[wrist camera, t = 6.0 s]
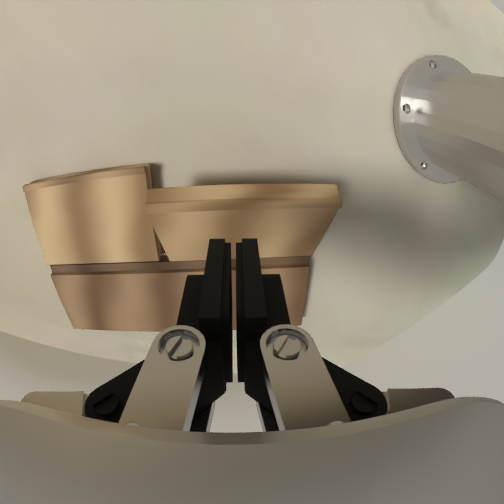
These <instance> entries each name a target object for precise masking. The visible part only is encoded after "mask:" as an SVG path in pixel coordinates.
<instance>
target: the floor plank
mask: <svg viewBox="0 0 504 504" xmlns="http://www.w3.org/2000/svg"><path fill="white" fill-rule="evenodd" d="M205 264H206V260H195V261H170V260H169V258H168V256H167V255H165V256H160V259H159V261H145V262H117V263H88V264H57V265H50V267H51V269H52V272H53V273H52V274H51V278H52V280H53V283H54V285H55V288H56V290H57V293H58V295H59V297H60V300H61V302H62V304H63V306H64V309H65V311H66V313H67V315H68V317H69V319H70V322H71V324H72V326H73V328H76V329H92V330H113V331H163V330H164V329H166V328H169V327H172V326H176V324H177V319H178V314H179V310H180V305H181V300H182V296H183V291H184V287H185V282H186V278H187V275H204V271H205ZM260 264H261V272H262V274H280V276H281V280H282V285H283V290H284V294H285V299H286V304H287V309H288V313H289V318H290V323H291V325H294V326H298V325H301V323H302V317H303V311H304V304H305V298H306V291H307V284H308V277H309V270H310V266H309V256H292V257H269V258H260ZM231 267H232V330H236V259H231Z"/></svg>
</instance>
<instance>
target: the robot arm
mask: <svg viewBox="0 0 504 504" xmlns="http://www.w3.org/2000/svg"><path fill="white" fill-rule="evenodd" d="M402 107H403V108H402ZM393 114H394V126H395V132H396V137H397V140H398V143H399V146H400V148H401V150H402V152H403V154H404V156H405V158H406V160H407V161H408V162H409V163H410V165H411V166H412V167H413V168H414V169H415V170H416V171H417V172H418V173H419V174H421V175H422V176H424V177H426V178H428V179H429V180H432V181H434V182H437V183H444V184H447V183H454V182H456V181H459V180H461V179H464V180H466V181H468V182H469V183H471V184H473V185H475V186H477V187H478V188H480V189H482V190H484V191H485V192H487V193H489V194H490V195H492V196H494V197H495V198H497V199H499V200H500V201H502V202H503V203H504V77H499V76H492V75H484V74H475V73H471V72H470V71H469V70H468V69H467V68H466V67H465V66H464V65H463V64H461V63H460V62H458V61H456V60H455V59H453V58H450V57H447V56H439V55H434V56H425V57H423V58H420V59H418V60H416V61H415V62H414V63H412V64H411V65H410V66H409V67H408V68H407V70H406V71H405V72H404V73H403V75H402V77H401V79H400V81H399V83H398V86H397V90H396V93H395V98H394V107H393ZM236 331H237V368H238V382H244V383H245V392H246V394H248V395H249V396H250V397H251V398H253V399H254V400H256V404H257V405H256V406H257V410H258V414H259V418H260V422H261V425H262V429H263V432H249V433H248V432H247V433H213V432H209V431H210V427H211V422H212V417H213V412H214V408H215V400H217V399H218V398H219V397H220V396H222V395H223V394H224V393H225V391H226V382H232V381H233V377H232V375H233V370H232V267H231V243H225V239H209V245H208V251H207V258H206V264H205V271H204V275H187V278H186V282H185V287H184V291H183V296H182V300H181V305H180V310H179V314H178V319H177V324H176V326H172V327H169V328H166V329H164V330H163V331H161V332H160V333H159V334H158V335H157V336H156V337H155V339H154V340H153V343H152V345H151V347H150V349H149V352H148V354H147V356H146V358H145V360H143V361H141V362H140V363H138V364H136V365H135V366H133V367H132V368H130V369H128V370H127V371H125V372H123V373H122V374H120V375H118V376H117V377H115V378H113V379H112V380H110V381H108V382H107V383H105V384H103V385H102V386H100V387H98V388H96V389H95V390H94V391H93V392H91V393H90V394H85V393H84V392H83V391H76V392H31V393H29V394H27V395H25V396H24V398H23V399H22V400H21V402H20V401H11V400H0V504H504V404H503V403H502V402H500V401H497V400H494V399H490V398H485V397H484V398H483V397H459V398H455V397H454V396H453V395H452V393H451V392H449V391H448V390H446V389H443V388H419V389H388V390H387V391H386V392H381V391H380V390H379V389H377V388H376V387H375V386H373V385H371V384H369V383H367V382H365V381H363V380H362V379H360V378H358V377H356V376H354V375H353V374H351V373H349V372H347V371H345V370H344V369H342V368H340V367H338V366H337V365H335V364H333V363H331V362H329V361H328V360H326V359H324V358H323V357H321V355H320V353H319V351H318V349H317V346H316V344H315V342H314V340H313V338H312V337H311V335H310V334H309V333H308V332H307V331H305V330H304V329H302V328H300V327H298V326H294V325H291V323H290V318H289V313H288V309H287V304H286V299H285V294H284V290H283V285H282V280H281V276H280V274H262V272H261V264H260V256H259V249H258V241H257V238H242V242H236Z"/></svg>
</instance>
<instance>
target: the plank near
mask: <svg viewBox="0 0 504 504" xmlns="http://www.w3.org/2000/svg"><path fill="white" fill-rule="evenodd" d="M342 204H343V203H342V200H341V199H340V196H339V193H338V189H337V185H336V184H229V185H204V186H186V187H170V188H157V189H148V192H147V199H146V204H145V207H144V211H145V213H146V214H147V215H148V217H149V219H150V221H151V223H152V225H153V228H154V230H155V232H156V234H157V236H158V238H159V240H160V242H161V244H162V246H163V248H164V250H165V252H166V254H167V256H168V258H169V260H170V261H195V260H206V258H207V251H208V245H209V239H225V243H231V259H236V242H242V238H257V241H258V249H259V256H260V258H269V257H292V256H312V254H313V252H314V251H315V249H316V247H317V246H318V244H319V242H320V240H321V239H322V237H323V235H324V234H325V232H326V230H327V228H328V227H329V225H330V223H331V221H332V219H333V218H334V216H335V214H336V212H337V211H338V209H339V208H341V206H342Z"/></svg>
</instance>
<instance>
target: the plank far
mask: <svg viewBox="0 0 504 504" xmlns="http://www.w3.org/2000/svg"><path fill="white" fill-rule="evenodd" d="M22 187H23V191H24V192H25V195H26V199H27V203H28V207H29V211H30V215H31V218H32V222H33V225H34V228H35V231H36V235H37V238H38V241H39V244H40V247H41V250H42V252H43V255H44V258H45V261H46V263H47V265H57V264H88V263H117V262H145V261H159V259H160V256H161V253H162V250H161V244H160V240H159V238H158V236H157V234H156V232H155V230H154V228H153V225H152V223H151V221H150V219H149V217H148V215H147V214H146V213H145V211H144V207H145V204H146V199H147V192H148V189H153V188H152V180H151V171H150V164H141V165H131V166H123V167H115V168H107V169H100V170H93V171H87V172H80V173H74V174H69V175H63V176H57V177H52V178H47V179H42V180H37V181H33V182H31V183H29V184H26V185H24V186H22Z"/></svg>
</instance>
